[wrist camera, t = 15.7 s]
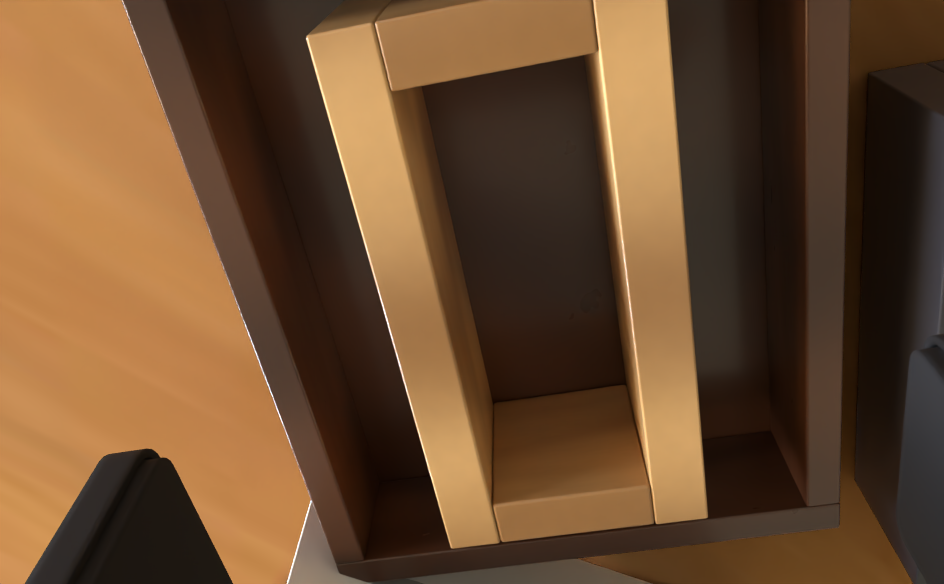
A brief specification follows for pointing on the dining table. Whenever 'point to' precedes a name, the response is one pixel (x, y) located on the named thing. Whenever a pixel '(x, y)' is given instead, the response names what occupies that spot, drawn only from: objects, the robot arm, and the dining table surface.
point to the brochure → (559, 580)
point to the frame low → (898, 271)
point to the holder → (531, 260)
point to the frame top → (443, 283)
